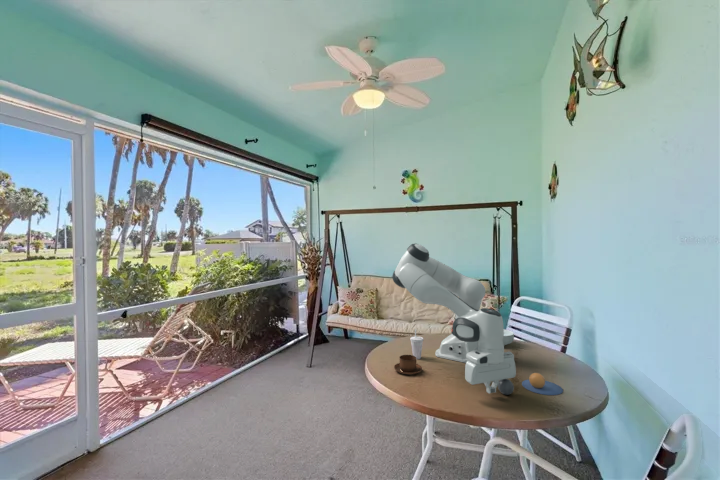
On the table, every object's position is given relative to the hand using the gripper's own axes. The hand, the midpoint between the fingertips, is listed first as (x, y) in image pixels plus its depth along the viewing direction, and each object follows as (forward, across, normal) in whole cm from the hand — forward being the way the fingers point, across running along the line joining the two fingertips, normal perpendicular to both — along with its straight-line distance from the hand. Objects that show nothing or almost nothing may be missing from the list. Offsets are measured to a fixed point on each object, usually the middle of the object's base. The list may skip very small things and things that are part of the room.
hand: (491, 392), depth 123 cm
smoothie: (+2, +5, -46) cm, 46 cm away
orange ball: (-1, -22, 0) cm, 22 cm away
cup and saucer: (+2, +17, -32) cm, 37 cm away
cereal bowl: (+2, -47, -50) cm, 69 cm away
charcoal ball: (-1, -6, 0) cm, 7 cm away
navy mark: (+2, -24, 0) cm, 24 cm away
